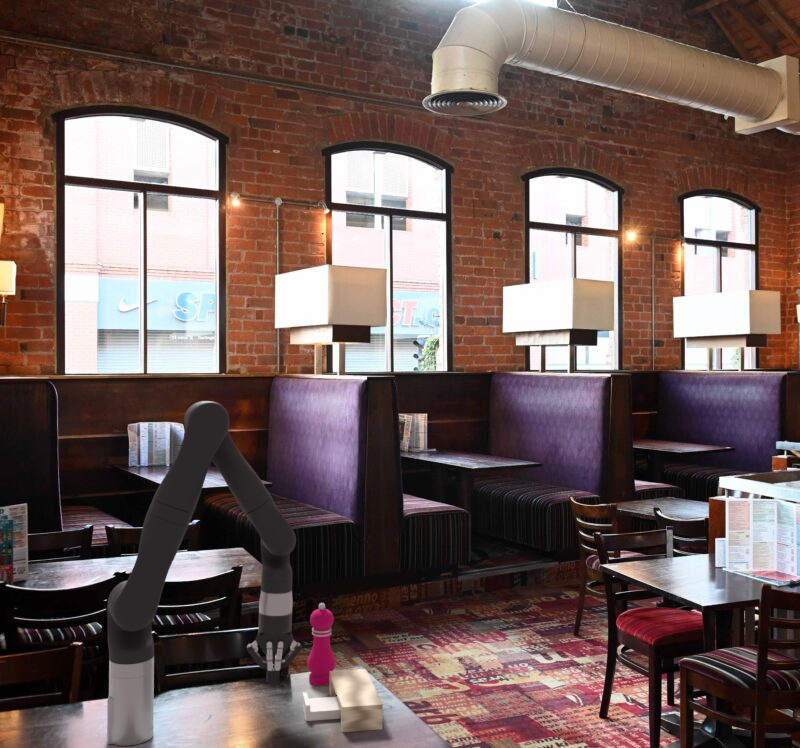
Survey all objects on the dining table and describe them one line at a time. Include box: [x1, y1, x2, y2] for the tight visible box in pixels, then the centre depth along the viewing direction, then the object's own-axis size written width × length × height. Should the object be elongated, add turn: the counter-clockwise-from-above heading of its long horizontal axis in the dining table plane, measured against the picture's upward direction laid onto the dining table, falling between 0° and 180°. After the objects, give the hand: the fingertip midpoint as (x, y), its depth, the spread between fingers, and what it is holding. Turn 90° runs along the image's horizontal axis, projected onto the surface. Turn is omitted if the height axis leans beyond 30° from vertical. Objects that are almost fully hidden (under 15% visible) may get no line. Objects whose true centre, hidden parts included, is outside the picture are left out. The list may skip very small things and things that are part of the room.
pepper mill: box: [306, 602, 337, 687], centre depth 223 cm, size 7×7×20 cm
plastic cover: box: [302, 692, 341, 722], centre depth 203 cm, size 15×8×4 cm, turn 101°
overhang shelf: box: [328, 668, 384, 733], centre depth 204 cm, size 9×23×6 cm, turn 12°
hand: (272, 685), depth 200 cm, fingers closed
